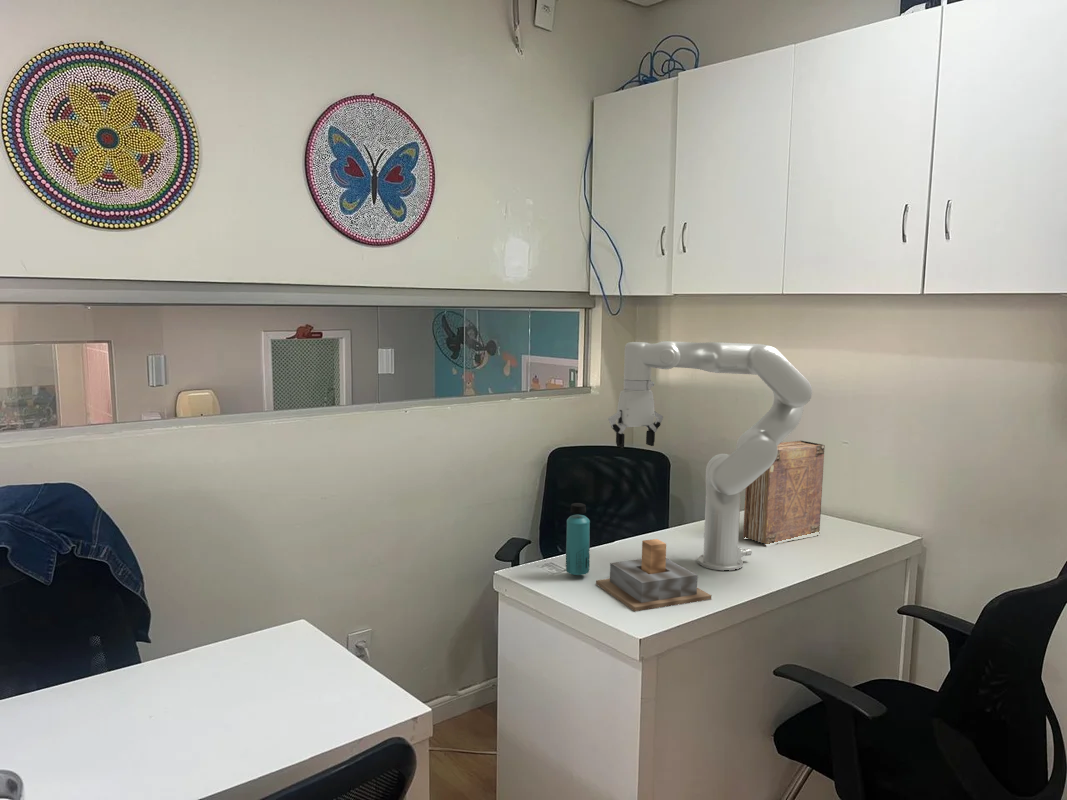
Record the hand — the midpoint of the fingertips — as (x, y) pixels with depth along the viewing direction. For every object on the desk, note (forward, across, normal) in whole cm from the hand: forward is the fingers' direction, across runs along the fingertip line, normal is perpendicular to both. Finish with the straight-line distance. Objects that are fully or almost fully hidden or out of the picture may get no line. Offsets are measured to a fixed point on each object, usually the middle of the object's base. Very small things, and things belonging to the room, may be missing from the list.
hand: (635, 446), depth 220 cm
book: (+34, -57, -3) cm, 66 cm away
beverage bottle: (+34, +21, +7) cm, 40 cm away
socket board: (+33, +8, +24) cm, 42 cm away
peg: (+32, +8, +24) cm, 41 cm away
